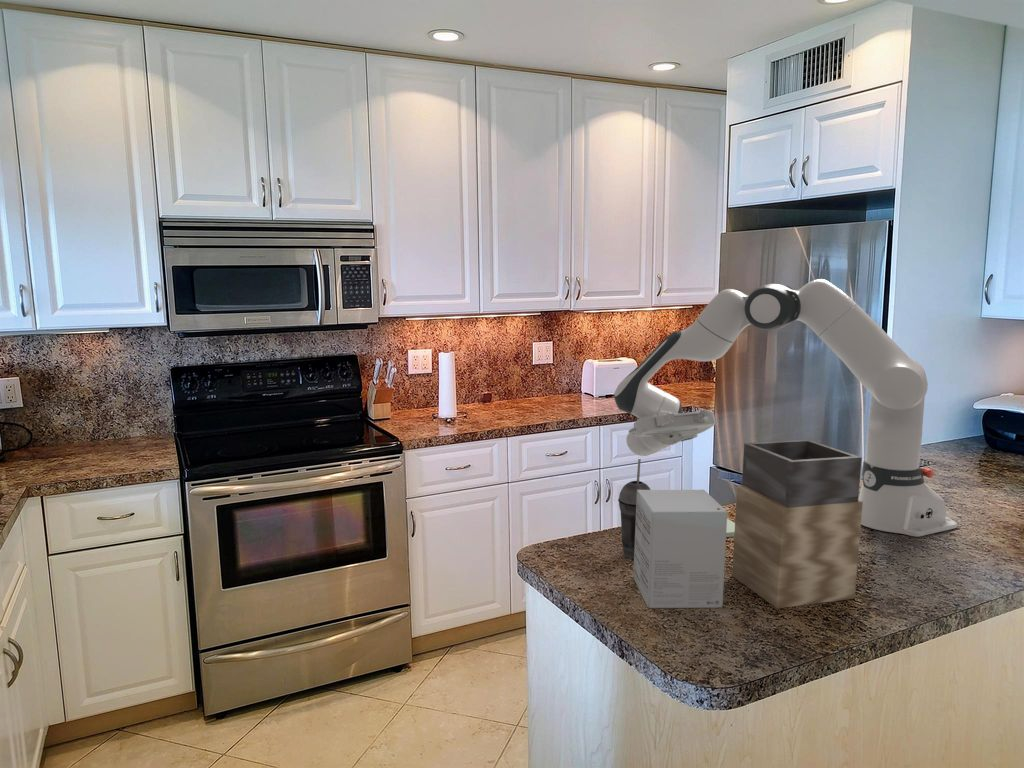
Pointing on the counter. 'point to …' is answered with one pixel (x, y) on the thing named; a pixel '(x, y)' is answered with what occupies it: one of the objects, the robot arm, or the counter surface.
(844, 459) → the tub stand
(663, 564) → the supplement box
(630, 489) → the beverage cup
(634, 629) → the counter surface
